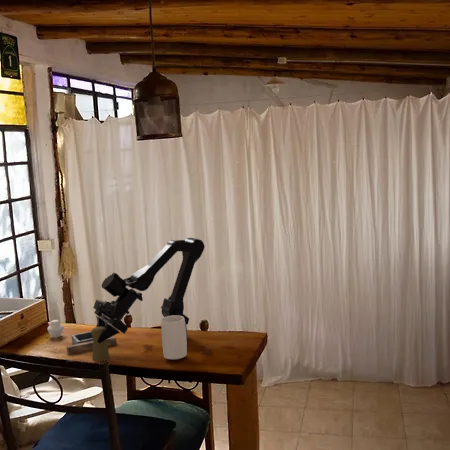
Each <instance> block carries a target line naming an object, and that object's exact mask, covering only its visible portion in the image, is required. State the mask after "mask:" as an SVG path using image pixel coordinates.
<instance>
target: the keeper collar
mask: <svg viewBox="0 0 450 450" xmlns="http://www.w3.org/2000/svg"><path fill="white" fill-rule="evenodd" d="M91 331H92V330H91ZM91 331H86V332H82V333H81V332H80V333H77V334H72V335H71V342H72V345H75V344H80V343H85V342H90V341H93V338H92V334H91Z"/></svg>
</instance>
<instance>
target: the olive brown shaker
mask: <svg viewBox="0 0 450 450" xmlns="http://www.w3.org/2000/svg"><path fill="white" fill-rule="evenodd" d="M104 329H105V327H96V326H95V327H93V328H92V329H91V334H92V337H93V349H92V355H91V356H92V357H91V358H92V360H93V361H95V362H102V361H105V360H108V359H110V356H111V355H110V352H109V348H108V346H107V342H106V340H105V341H103V342H101V343H98V342H97V341H98V339H99V337H100V335H101V334H102V332H103V330H104ZM101 360H102V361H101Z"/></svg>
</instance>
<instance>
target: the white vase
mask: <svg viewBox="0 0 450 450" xmlns="http://www.w3.org/2000/svg"><path fill="white" fill-rule="evenodd" d="M47 331H48V334H49V335H50V336H51V338H52V339H57V338H61V336H62V333H63V331H64V325H63V324H62V323H61V321H60V320H58V319H53V320H51V321H50V324H49V326H47Z"/></svg>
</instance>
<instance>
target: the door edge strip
mask: <svg viewBox="0 0 450 450" xmlns="http://www.w3.org/2000/svg"><path fill="white" fill-rule="evenodd" d="M106 342H107V347H108V346H114V345H117V337H116V336H115V335H114V336H112V337H110V338H108V339H106ZM90 350H93V341H90V342H85V343H80V344H75V345H74V344H71V345H67V346H66V353H67V355H72V354H77V353H80V352H81V353H82V352H85V351H90Z"/></svg>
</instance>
